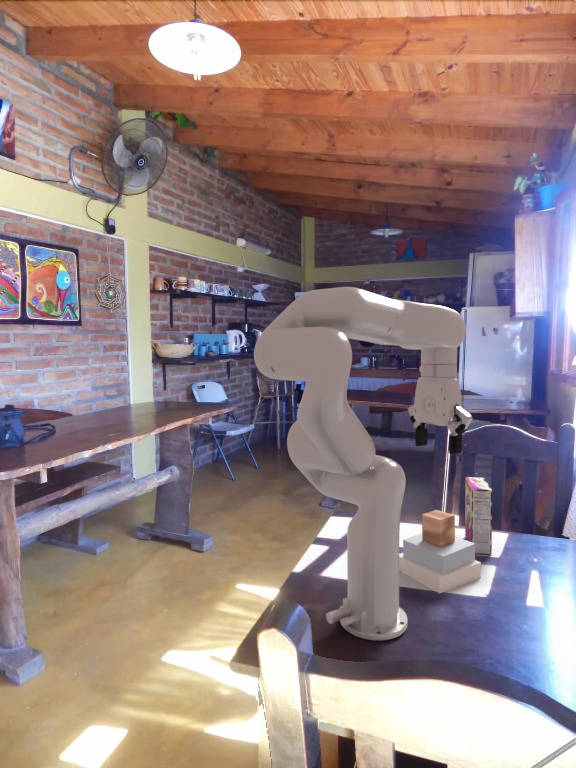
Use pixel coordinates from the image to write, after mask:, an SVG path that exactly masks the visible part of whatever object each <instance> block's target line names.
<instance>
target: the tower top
mask: <svg viewBox="0 0 576 768" xmlns="http://www.w3.org/2000/svg"><path fill="white" fill-rule="evenodd" d="M402 553H403V557H405V558H407V559H409V560H411V561H414V562H416V563H418V564H420V565H422V566H425V567H427V568H429V569H431V570H433V571H436V572H438V573H440V574H442V575H444V574H447V573H449V572H451V571H453V570H456V569H458V568H460V567H462V566H465V565H467V564H469V563H471V562H474V561H475V560H476V554H475V543H472V542H469V541H467V539H464V538H460V537H458V536H456V535H455V542H453V543H450V544H448V545H445V546H442V547H439V546H436V545H433V544H431V543H428V542H425V541H423V540H422V532H421V533H419V534H415V535H412V536H410V537H407V538H404V539H403V540H402Z"/></svg>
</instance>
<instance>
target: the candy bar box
mask: <svg viewBox="0 0 576 768" xmlns="http://www.w3.org/2000/svg"><path fill="white" fill-rule="evenodd" d="M464 479H465V480H464V481H465V483H464V484H465V487H464V488H465V489H464V490H465V494H464V495H465V497H464V498H465V503H464V504H465V508H464V510H465V511H464V513H465V517H464V519H465V523H464V527H465V528H464V529H465V531H464V532H465V533H464V537H465V540H467V541H469V542H472V543H475V555H489V556H491V555H492V554H493V553H492V550H493V549H492V546H493V545H492V544H493V543H492V538H493V532H492V531H493V529H492V528H493V490H492V488H491V487H490V485H489V484H488V482H487V480H486V479H485V478H484V477H479V476H478V477H475V476H472V477H471V476H466V477H464Z"/></svg>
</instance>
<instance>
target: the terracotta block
mask: <svg viewBox="0 0 576 768" xmlns="http://www.w3.org/2000/svg"><path fill="white" fill-rule="evenodd" d="M455 518H456V515H455V514H451V513H449V512H444V511H441V510H438V509H434V510H431V511H429V512H425V513H423V514H422V513H421V530H422V531H421V533H422V540H423V541H425V542H428V543H431V544H433V545H436V546H439V547H442V546H445V545H448V544H450V543H453V542H455V536H456V519H455Z"/></svg>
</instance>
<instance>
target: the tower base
mask: <svg viewBox="0 0 576 768" xmlns="http://www.w3.org/2000/svg"><path fill="white" fill-rule="evenodd" d="M399 573H401V574H404V575H406V576H408V577H410V578H411V579H413V580H414V581H416V582H418V583H420V584H422V585H423V586H425V587H427V588H429V589H431V590H432V591H434V592H437V593H438V594H441V593H444V592H448V591H450V590H452V589H454V588H457V587H460V586H462V585H465V584H468V583H470V582H473V581H475V580H478V579H481V578H482V562H481V561H478V560H476V559H475V561H474V562H471V563H469V564H467V565H465V566H462V567H460V568H458V569H456V570H453V571H451V572H449V573H447V574H444V575H442V574H440V573H438V572H436V571H433V570H431V569H429V568H427V567H425V566H422V565H420V564H418V563H416V562H414V561H411V560H409V559H407V558H405V557H403V552H401V553H400V552H399Z"/></svg>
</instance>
